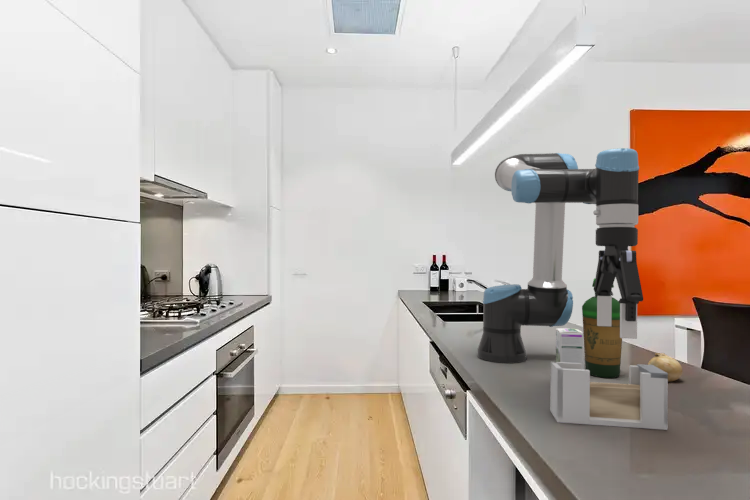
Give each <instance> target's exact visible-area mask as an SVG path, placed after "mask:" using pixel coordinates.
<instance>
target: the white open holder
mask: <svg viewBox="0 0 750 500" xmlns="http://www.w3.org/2000/svg"><path fill="white" fill-rule="evenodd" d="M549 376H550V386H549V388H550V391H549V393H550V396H549V397H550V399H549V401H550V402H549V404H550V405H549V407H550V408H549V411H550V412H551V414H552V416H553V418H554V420H555V421H556V422H557V423H563V424H577V425H579V424H580V425H593V426H604V427H620V428H622V427H623V428H634V429H651V430H661V431H663V430H665V431H668V429H669V428H668V427H669V426H668V421H669V419H668V417H669V416H668V415H669V413H668V409H669V407H668V406H669V405H668V404H669V400H668V399H669V395H668V394H669V392H668V391H669V388H668V387H669V385H668V383H669V382H668V373H666V372H664V371H663V370H661V369H659V368H657V367H655V366H654V365H648V364H644V363H643V364H640V363H639V364H638V363H637V364H636V365H632V364H631V365H628V384H637V385H640V420H633V419H617V418H602V417H590V382H591V381H590V379H591V375H590V371H589V370H585V368H584V369H582V364H581V363H570V362H556V361H550V375H549Z"/></svg>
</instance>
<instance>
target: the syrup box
mask: <svg viewBox="0 0 750 500" xmlns="http://www.w3.org/2000/svg"><path fill="white" fill-rule="evenodd" d="M555 362H570V363H581V364H582V369H584V370H585V352H584V334H583V331H581V330H580V329H578V328H571V327H561V328H557V327H555Z"/></svg>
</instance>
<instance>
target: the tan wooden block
mask: <svg viewBox="0 0 750 500" xmlns="http://www.w3.org/2000/svg"><path fill="white" fill-rule="evenodd" d="M590 417H602V418H617V419H633V420H640V385H637V384H629V383H617V382H616V383H615V382H600V381H599V382H598V381H590Z"/></svg>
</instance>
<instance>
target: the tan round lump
mask: <svg viewBox="0 0 750 500" xmlns="http://www.w3.org/2000/svg"><path fill="white" fill-rule="evenodd" d="M647 365H654V366H655V367H657V368H659V369H661V370H663V371H664V372H666V373H668V383H669V382H670V383H672V382H676V381H677V380H679V379H680V378H681V377H682V375H683V367H682V365H681V363H680V362H679V361H678V360H677V359H675V358H674V357H671V356H669V355H667V354H665V353H664V352H663V353H660V352H655V354H654V357H652V358H650V360H649V361H648V362H647Z"/></svg>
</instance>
